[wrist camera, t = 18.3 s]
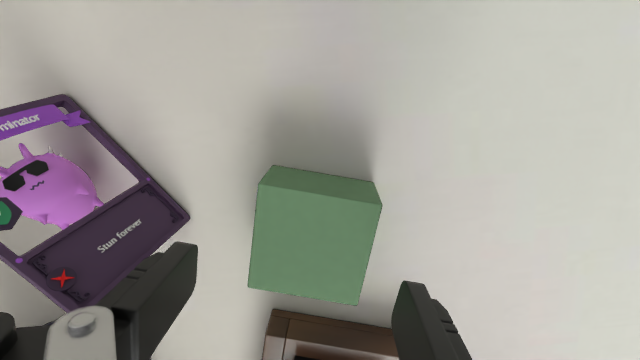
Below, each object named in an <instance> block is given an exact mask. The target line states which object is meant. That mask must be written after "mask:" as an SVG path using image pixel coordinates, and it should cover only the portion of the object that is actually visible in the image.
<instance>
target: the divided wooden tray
mask: <svg viewBox="0 0 640 360" xmlns="http://www.w3.org/2000/svg"><path fill="white" fill-rule="evenodd" d="M295 355H296V356H302V357H308V358H314V359H320V360H399V356H398V352H397V348H396V344H395V340H394V336H393V332H392V329H388V328H382V327H376V326H370V325H364V324H358V323H353V322H347V321H341V320H335V319H329V318H323V317H317V316H311V315H305V314H299V313H293V312H288V311H282V310H276V309H273V310H272V313H271V317H270V320H269V324H268V327H267V331H266V334H265V342H264V349H263V356H262V360H294V357H295Z"/></svg>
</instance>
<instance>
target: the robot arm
mask: <svg viewBox="0 0 640 360" xmlns="http://www.w3.org/2000/svg"><path fill="white" fill-rule="evenodd" d="M197 256H198V247H197V245H194V244H189V243H183V242H175V243H174V244H173V245H172V246H171V247H170V248H169V249H168V250H167V251H166V252H165V253H160V252H158V253H155V254H153V255H151V256H149V257H147V258H145V259H144V260H143V261H142V262H141V263H139V264H138V265H137V266H136V267H135V269H134V270H132V271H131V272H130V273H129V274H128V275H127V276H126V278H123V279H122V280H121V281H120V282H119V283H118V284H117V285H116V286H115V287H114V288H113V289H112V290H111V291H110V292H108V293H107V294H106V295H105V296H104V297H103V298H102V299H101V300H100V301H99V302H98V303H97V304H96V305H95V306H87V307H82V308H79V309H76V310H73V311H71V312H68V313H66V314H65V315H63V316H61V317H60V318H59V319H57V320H56V321H55V322H54V323H53V324H52V325H44V326H33V327H21V328H16V327H15V321H14V318H13V316H11V315H10V314H8V313H4V312H0V360H149V358H150V357H151V355H152V354H153V352H154V350H155V349H156V347H157V346H158V344H159V343H160V341H161V340H162V338H163V337H164V335H165V334H166V332H167V331H168V329H169V328H170V326H171V325H172V323H173V322H174V320H175V319H176V317H177V316H178V314H179V313H180V311H181V310H182V308H183V307H184V305H185V304H186V302H187V301H188V299H189V298H190V296H191V295H192V292H193V290H194V287H195V284H196V276H197ZM391 325H392V332H393V336H394V340H395V344H396V348H397V352H398V356H399V360H472V358H471V356H470V354H469V352H468V350H467V348H466V346H465V344H464V343H463V341H462V339H461V337H460V335H459V334H458V331H457V329H456V327H455V325H454V324H453V321H452V319H451V317H450V315H449V313H448V311H447V310H446V309H445V308H444V307H443V306H442V305H441V304H440V303H439V302H438V301H437V300H435V299H431V298H430V295H429V293H428V291H427V289H426V287H425V285H424V284H421V283H416V282H410V281H403V282H402V284H401V286H400V289H399V293H398V296H397V299H396V303H395V306H394V309H393V313H392V320H391Z"/></svg>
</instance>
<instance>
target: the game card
mask: <svg viewBox="0 0 640 360" xmlns="http://www.w3.org/2000/svg"><path fill="white" fill-rule="evenodd" d="M58 107H64V108H65V109H66V110H67V111H68V112H69V113H70V114H66V115H64V114H63V113H62V112H61V111H60V110H59V109H58ZM60 121H63V122H64V123H65V124H66V125H68V126H69V127H73V126H78V125H82V126H84V127H85V128H86V129H87V130H88V131H89V132H90V133H91V134H92V135H93V136H94V137H95V138H96V139H97V140H98V141H99V142H100V143H101V144H102V145H103V146H104V147H105V148H106V149H107V150H108V151H109V152H110V153H111V154H112V155H113V156H114V157H115V158H116V159H117V160H118V161H119V162H120V163H121V164H122V165H124V166H125V167H126V168H127V169H128V170H129V171H130V172H131V173H132V174H133V175H134V176H135V177H136V178H137V179H138V180H139V183H138V184H136V185H134V186H133V187H131V188H130V189H128V190H126V191H125V192H123V193H122V194H120V195H118V196H117V197H115V198H113V199H112V200H110V201H109V202H107V203H105V204H103V202H101V201H100V200H99V199H98V197H97V193H96V190H95V187H94V185H93V183H92V181H91V179H90V178H89V177H88V175H87V174H86V173H85V172H84V171H83V170H82V169H81V168H80V167H78V166H77V165H76V164H74V163H73V162H71V161H69V160H67V159H65V158H63V156H62V154H61V153H60V154H59V155H58V156H57V155H55V154H54V153H53V150H52V148H51V147H50V146H48V148H49V151H48V153H46V154H44V155H37V156H33V155H32V154H31V153H30V152H29V150H28V149H27V148H26V146H25V145H24V144H22V143H20V144H19V149H20V151H21V153H22V155H23V157H24V159H22V160H20V161H18V162H16V163H15V164H13V165H12V166H11V167H10V168H9V169H6V168H3V167H0V176H1V177H2V178H1V180H0V231H2V230H10V229H12V228H13V226H14V225H15V223H16V222H17V220H18V219H19V217H20V215H23V216H26V217H28V218H31V219H34V220H37V221H40V222H41V223H43V224H44V225H45V224H47V223H50V224H55V225H57V226H59V227H60V228H61V229H62V231H60V232H59V233H57V234H55V235H54V236H52V237H51V238H49V239H47V240H46V241H44V242H42V243H41V244H39V245H38V246H36V247H34V248H33V249H31V250H30V251H28V252H26V253H25V254H23V255H21V256H17V255H16V254H15V253H13V252H12V251H11V250H10V249H8V248H7V247H6V246H5V245H4V244H2V243H1V242H0V259H1V260H2V261H3V262H5V263H6V264H7V265H8V266H10V267H11V268H12V269H13V270H15V271H16V272H17V273H18V274H20V275H21V276H22V277H23V278H25V279H26V280H27V281H28V282H29V283H31V284H32V285H33V286H34V287H36V288H37V289H38V290H39V291H41V292H42V293H43V294H44V295H46V296H47V297H48V298H49V299H51V300H52V301H53V302H54V303H56V304H57V305H58V306H59V307H61V308H62V309H63V310H64V311H66V312H67V313H68V312H71V311H73V310H76V309H79V308H82V307H87V306H95V305H96V304H97V303H98V302H99V301H100V300H101V299H102V298H103V297H104V296H105V295H106V294H107V293H108V292H110V291H111V290H112V289H113V288H114V287H115V286H116V285H117V284H118V283H119V282H120V281H121V280H122V279H123V278H126V276H127V275H128V274H129V273H130V272H131V271H132V270H134V269H135V267H136V266H137V265H138V264H139V263H141V262H142V261H143V260H144V259H145V258H147V257H149V256H150V255H151V254H152V253H154V252H155V251H156V250H157V249H158V248H159V247H160V246H161V245H162V244H164V243H165V242H166V241H167V240H168V239H169V238H170V237H171V236H172V235H173V234H175V233H176V232H177V231H178V230H179V229H180V228H181V227H182V226H183V225H185V224H186V223H187V222H188V221H189V220H190V217H189V215H188V214H187V213H186V212H185V211H184V210H183V209H182V208H181V207H180V206H179V205H178V204H177V203H176V202H175V201H174V200H173V199H172V198H171V197H170V196H169V195H168V194H167V193H166V192H165V191H164V190H163V189H162V188H161V187H160V186H159V185H158V184H157V183H156V182H155V181H154V180H153V179H152V178H150V177H149V176H148V175H147V174H146V173H145V172H144V171H143V170H142V169H141V168H140V167H139V166H138V165H137V164H136V163H135V162H134V161H133V160H132V159H131V158H130V157H129V156H128V155H127V154H126V153H125V152H124V151H123V150H122V149H121V148H120V147H119V146H118V145H117V144H116V143H115V142H114V141H113V140H112V139H111V138H110V137H109V136H108V135H107V134H106V133H105V132H104V131H103V130H102V129H101V128H100V127H99V126H98V125H97V124H96V123H95V122H94V121H93V120H92V119H91V118H90V117H89V116H88V115H87V114H86V113H85V112H84V111H83V110H82V109H81V108H80V107H79V106H78V105H77V104H76V103H75V102H74V101H73V100H72V99H71V98H70V97H68V96H67V95H63V94H61V95H56V96H52V97H48V98H44V99H40V100H36V101H32V102H28V103H24V104H20V105H16V106H12V107H8V108H4V109H0V141H1V140H3V139H6V138H9V137H12V136H15V135H18V134H21V133H24V132H27V131H30V130H33V129H36V128H39V127H42V126H46V125H49V124H53V123H56V122H60ZM95 206H100V207H99V208H97V209H96V210H94V208H95ZM93 210H94V211H93ZM72 223H73V224H72ZM69 224H72V225H70V226H69Z"/></svg>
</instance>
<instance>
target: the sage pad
mask: <svg viewBox="0 0 640 360" xmlns="http://www.w3.org/2000/svg"><path fill="white" fill-rule="evenodd" d="M381 209H382V203H381V200H380V198H379V195H378V192H377V190H376V187H375V185H374V183H373V182H369V181H363V180H357V179H351V178H346V177H340V176H334V175H328V174H322V173H316V172H311V171H305V170H299V169H293V168H287V167H282V166H276V165H272V167H271V168H270V169H269V171H268V172H267V173H266V175H265V176H264V177H263V178H262V180H261V181H260V182H259V184H258V192H257V201H256V210H255V220H254V229H253V239H252V248H251V258H250V267H249V277H248V287H249V288H255V289H260V290H266V291H272V292H278V293H284V294H290V295H296V296H302V297H308V298H313V299H319V300H325V301H331V302H337V303H343V304H349V305H355V306H357V305H358V301H359V297H360V293H361V289H362V285H363V281H364V277H365V273H366V269H367V265H368V261H369V257H370V253H371V249H372V245H373V241H374V237H375V233H376V229H377V225H378V221H379V217H380V213H381Z"/></svg>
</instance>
